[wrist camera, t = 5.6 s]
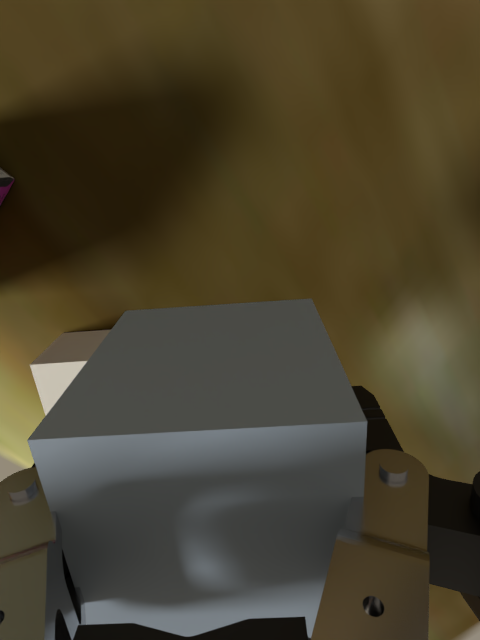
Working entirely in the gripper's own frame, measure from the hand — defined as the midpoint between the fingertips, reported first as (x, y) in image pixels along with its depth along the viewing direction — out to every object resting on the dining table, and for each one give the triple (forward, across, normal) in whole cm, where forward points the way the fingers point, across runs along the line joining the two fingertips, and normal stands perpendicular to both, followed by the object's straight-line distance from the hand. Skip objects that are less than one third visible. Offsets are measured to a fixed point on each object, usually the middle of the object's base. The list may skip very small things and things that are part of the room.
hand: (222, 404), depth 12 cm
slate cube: (+1, 0, 0) cm, 1 cm away
